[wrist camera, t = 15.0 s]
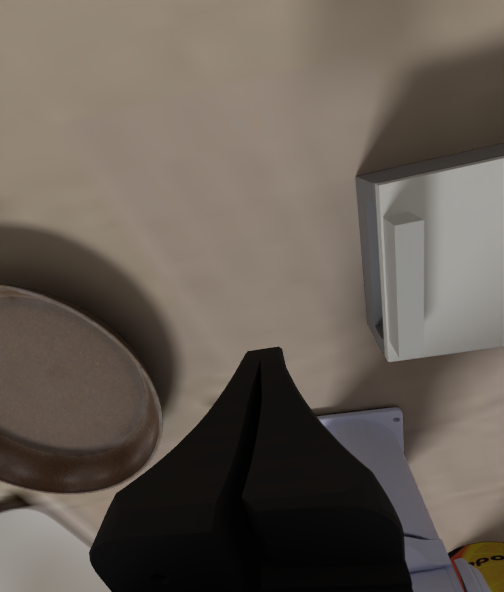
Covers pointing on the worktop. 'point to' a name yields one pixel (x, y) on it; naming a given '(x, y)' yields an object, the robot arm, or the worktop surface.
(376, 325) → the housing
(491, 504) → the worktop surface
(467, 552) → the yellow tin can
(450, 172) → the lid
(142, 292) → the worktop surface
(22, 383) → the plant saucer
